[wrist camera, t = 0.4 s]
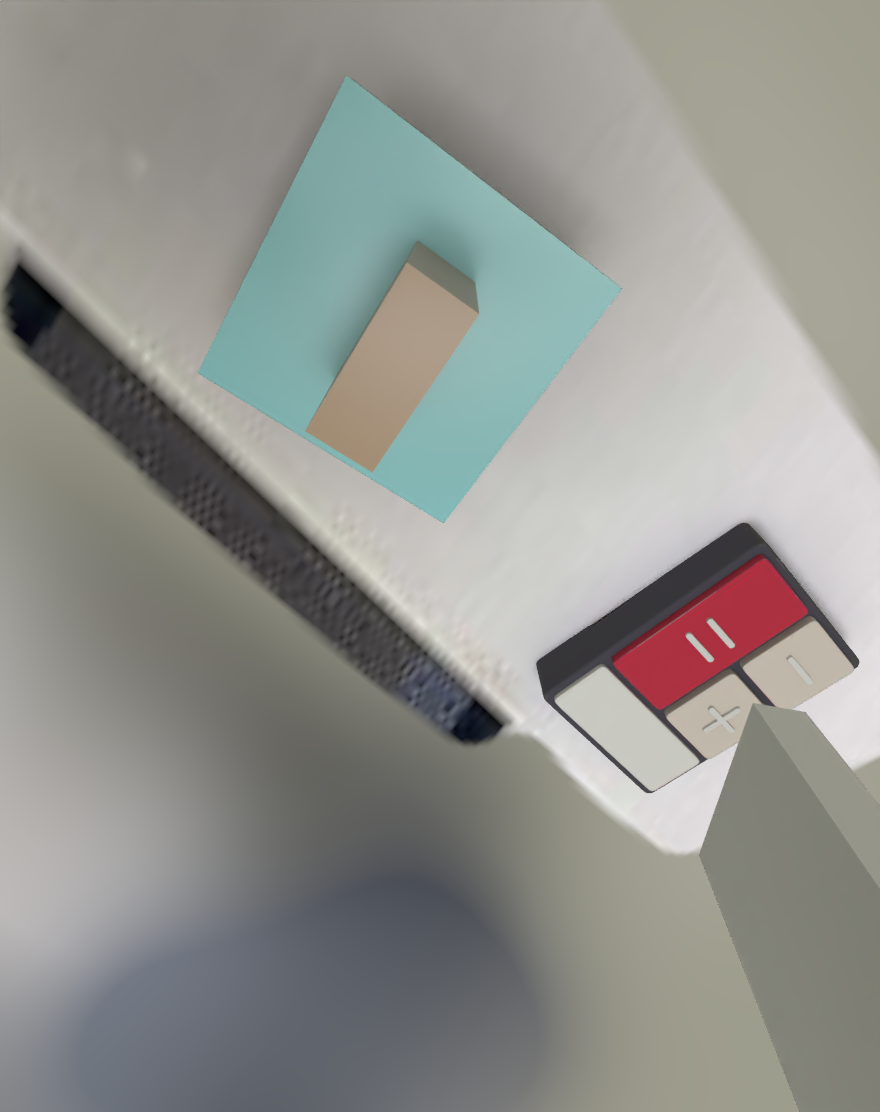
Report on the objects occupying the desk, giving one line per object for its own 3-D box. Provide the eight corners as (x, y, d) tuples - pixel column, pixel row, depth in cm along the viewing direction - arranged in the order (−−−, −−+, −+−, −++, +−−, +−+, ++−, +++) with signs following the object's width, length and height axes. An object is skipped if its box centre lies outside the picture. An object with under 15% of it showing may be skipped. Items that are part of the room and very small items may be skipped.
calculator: (871, 673, 40) (652, 806, 44) (832, 631, 44) (634, 757, 48) (771, 546, 36) (542, 705, 41) (738, 512, 40) (532, 661, 44)
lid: (356, 82, 25) (312, 50, 18) (609, 278, 28) (663, 322, 21) (216, 357, 30) (136, 423, 22) (444, 499, 33) (440, 598, 25)
